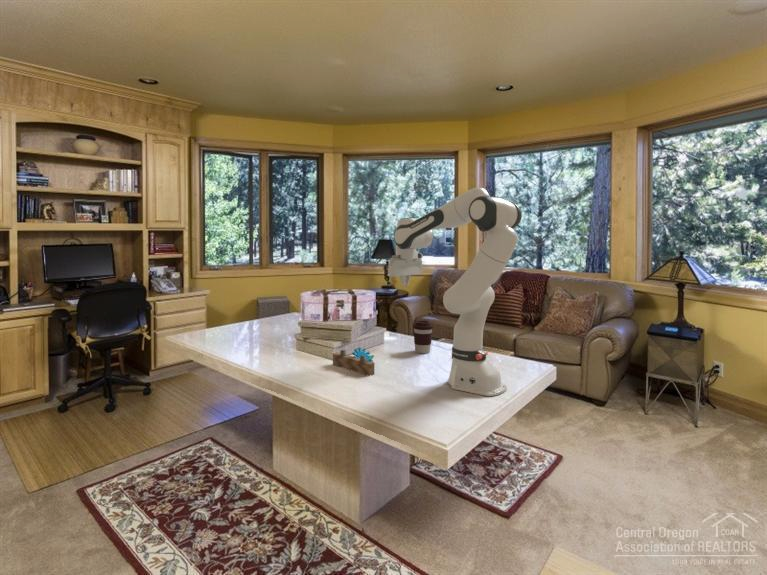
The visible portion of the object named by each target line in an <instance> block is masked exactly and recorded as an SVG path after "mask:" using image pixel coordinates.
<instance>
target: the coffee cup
mask: <svg viewBox="0 0 767 575" xmlns="http://www.w3.org/2000/svg"><path fill="white" fill-rule="evenodd" d="M412 328H413V343H414V351H415V353H417V354H429V353H430V352H431V346H432V340H433V339H432V338H433V330H434V324H432V323H431V321H430V320H421V319H420V320H416V321H415V323H413V324H412Z"/></svg>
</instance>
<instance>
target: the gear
mask: <svg viewBox="0 0 767 575" xmlns="http://www.w3.org/2000/svg"><path fill="white" fill-rule="evenodd" d="M366 350H367V349H366V348H365V347H364V348H363V349H362V347H360V346H359V347H358V348H354V351H353V352H352V354H351V355H352V356H353V357H357V358H360V356H361V355H365V356H366V360H367V361H371V362H374V360H373V359H374V357H375V355H374V354H372V355H371V352H370V351H369V350H368V351H367V352H366Z"/></svg>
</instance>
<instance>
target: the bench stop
mask: <svg viewBox="0 0 767 575" xmlns="http://www.w3.org/2000/svg"><path fill="white" fill-rule="evenodd" d="M353 356H354V355H349V354H347V349H340V351H339V352H334V353H332V366H335V365H336V367H338V366H339V368H342V367H343V368H342V369H345V368H346V370H348V369H349V371H351V370H352V372H355V373H358V374H360V375H361V374H362V375H364V376H367V375H368V376H369V377H371V376H373V375H375V362H374V361H373V362H371V361H367V360H366V356H365V355H361V356H360V358H357V357H356V356H355V357H353ZM370 375H371V376H370Z"/></svg>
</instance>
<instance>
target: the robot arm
mask: <svg viewBox="0 0 767 575" xmlns="http://www.w3.org/2000/svg"><path fill="white" fill-rule="evenodd" d="M522 215H523V214H522V209H521V208H520V207H519V206H518V205H517V204H516V203H514V202H512V201H509V200H505V199H503V198H501V197H496V196H490V194H489V192H488V191H487V190H486V189H485V188H483V187H473V188H471V189H469V190H466V191H464V192H463V193H461V194H460V195H458V196H456V197H455V198H453V199H451V200H450V201H448V202H446V203H445V204H443V205H442V206H439V207H438V208H436V209H434V210H432V211H430V212H429V213H426V214H424V215H423V216H421V217H419V218H417V219H416V218H414V217H403V218H400V219H399V220H398V221H397V224H396V229H395V231H394V233H393V241H394V243H395V245H396V246H395V255H394V254H393V255H392V256H391V257H390V258H389V262H388V267H387V274H388V277H389V278H391V277H392V278H396V277H399V280H400V281H401V286H402V287H407V286H409V285H410V280H411V276H417V275H418V276H419V275H421V274H422V273H423V260H422V259H423V256H424V255H423V253H422V252H419V251H417V250H416V249H425V248H429V247H430V246H431V245H432V244H433V241H434V236H435V235H434V230H438V229H439V230H440V229H453V228H454V229H456V228H460V227H463V226H465V225H467V224H470V223H471V222H472V223H473V224H474V225H475V226H476V227H477V228H478V229H479V231H480V232H485V233H486V236H485V238H484V241H483V242H482V244H481V246H480V248H479V250H478V252H477V253H476V255H475V257H474V258H473V260H472V262H471V264H470V265H469V266H468V267H467V269H466V270H465V271H464V273H463V274H462V275H461V276H460V277H459V279H458V280H456V282H455V283H454V284H453V285H451V286H450V287H449V288H448V289H447V290H445V292H444V294H443V297H442V302H443V307H444V308H445V309H446V310H447V312H449V313H451V314H456V315H459V317H458V320H457V321H456V323H455V324H454V327H453V342H452V347H451V359H452V360H451V367H450V373H449V376H448V379H447V383H448V385H449V386H450V389H452V390H456V391H460V392H461V391H462V392H467V393H471V394H476V395H481V396H486V397H495V396H498V395H501V394H503V393H505V392H506V391H507V390H508V386H507V384H506V383H502V377H501V373H500V371H499V370H498V369H497V368H496V366H494V365H493V364H492V363H491V362H490V361H489V360H488V359H487V355H489V351H485V350H484V348H483V344H484V343H483V341H484V340H483V339H484V328H485V323H486V320H487V317H488V313H489V310H490V308H491V306H492V305H493V303H494V301H495V297H496V294H495V290H494V289H493V288H492V285H494V283H496V282H498V280H499V278H500V276H501V275H502V273H503V271H504V270H505V268H506V267H507V264H508V263H509V261H510V259H511V257H512V255H513V254H514V251H515V249H516V246H517V243H518V240H519V238H518V236H519V235H518V233H517V232H516V231H515V230H514V229H515V228H516V227H517V226H519V224H521V223H520V222H521V221H522Z"/></svg>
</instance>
